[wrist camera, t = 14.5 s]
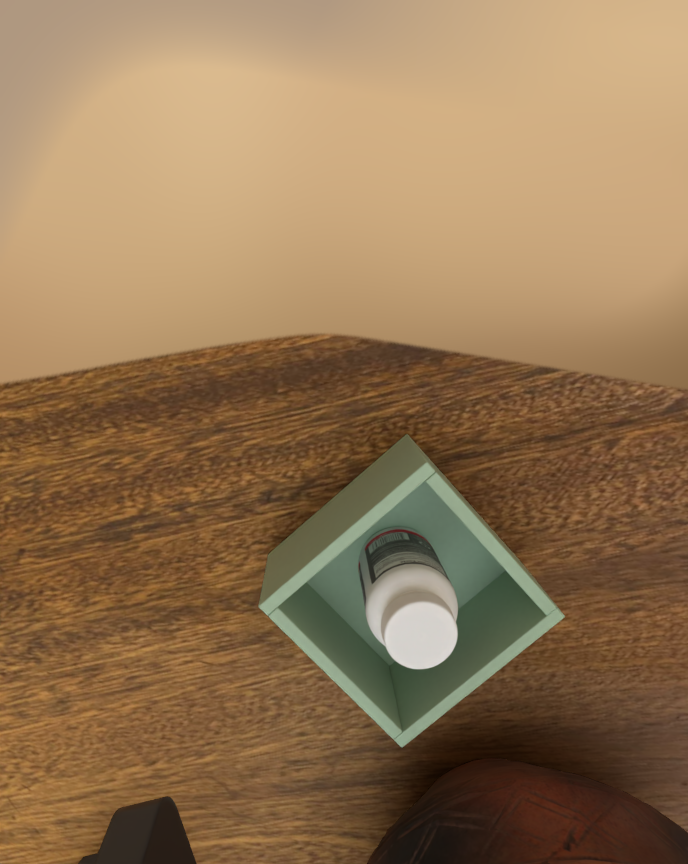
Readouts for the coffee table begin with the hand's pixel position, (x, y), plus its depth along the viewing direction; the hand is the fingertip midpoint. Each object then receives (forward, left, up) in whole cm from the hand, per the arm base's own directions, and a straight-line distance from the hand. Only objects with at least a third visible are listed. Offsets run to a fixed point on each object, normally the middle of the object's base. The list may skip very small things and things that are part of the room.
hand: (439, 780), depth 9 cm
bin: (+10, -4, -32) cm, 34 cm away
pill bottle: (+10, -4, -32) cm, 33 cm away
